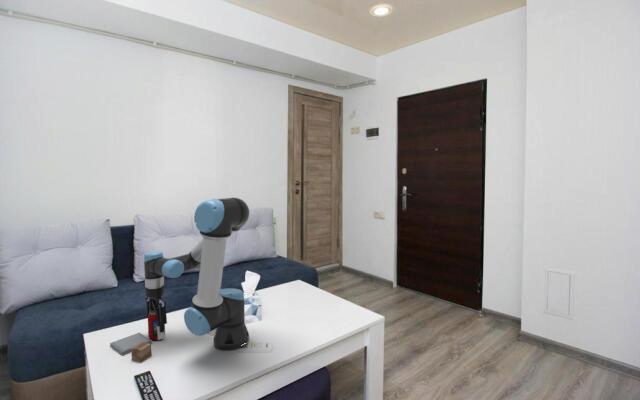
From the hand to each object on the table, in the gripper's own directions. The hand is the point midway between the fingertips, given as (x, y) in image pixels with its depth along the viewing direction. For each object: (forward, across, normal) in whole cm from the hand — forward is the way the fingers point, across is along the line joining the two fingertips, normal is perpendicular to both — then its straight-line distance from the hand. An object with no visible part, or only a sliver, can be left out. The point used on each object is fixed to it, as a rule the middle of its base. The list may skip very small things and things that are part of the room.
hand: (157, 336), depth 150 cm
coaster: (+1, +2, +10) cm, 10 cm away
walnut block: (+1, -12, +12) cm, 17 cm away
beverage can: (+1, 0, 0) cm, 1 cm away
